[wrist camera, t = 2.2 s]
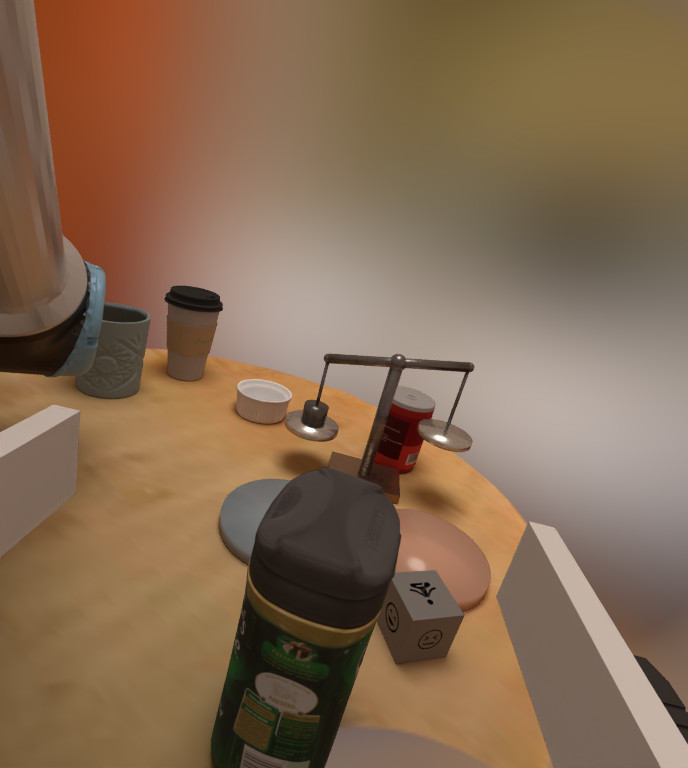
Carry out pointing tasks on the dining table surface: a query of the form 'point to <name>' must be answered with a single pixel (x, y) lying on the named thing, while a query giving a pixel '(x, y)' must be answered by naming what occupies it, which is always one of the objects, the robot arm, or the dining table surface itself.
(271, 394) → the ramekin
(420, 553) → the terracotta dish
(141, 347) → the grey-green ceramic planter
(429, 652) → the dice cube
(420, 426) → the balance
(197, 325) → the coffee cup
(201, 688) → the dining table surface
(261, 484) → the slate dish
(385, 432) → the canned food
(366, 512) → the coffee jar
